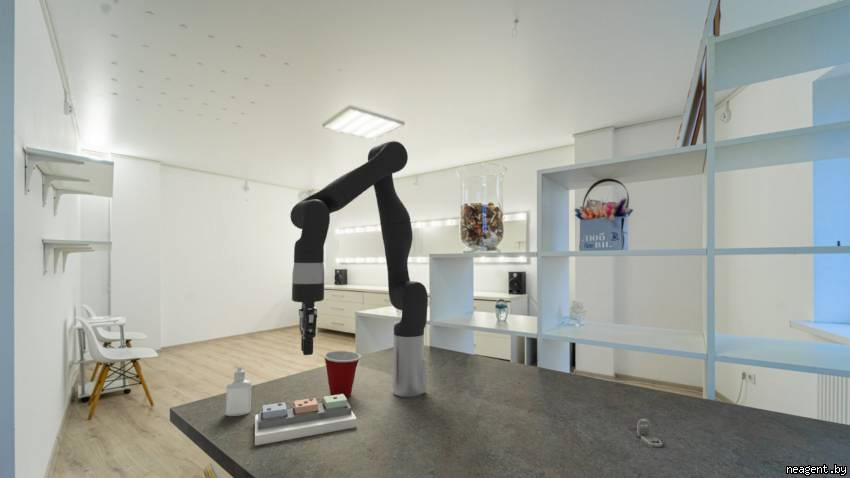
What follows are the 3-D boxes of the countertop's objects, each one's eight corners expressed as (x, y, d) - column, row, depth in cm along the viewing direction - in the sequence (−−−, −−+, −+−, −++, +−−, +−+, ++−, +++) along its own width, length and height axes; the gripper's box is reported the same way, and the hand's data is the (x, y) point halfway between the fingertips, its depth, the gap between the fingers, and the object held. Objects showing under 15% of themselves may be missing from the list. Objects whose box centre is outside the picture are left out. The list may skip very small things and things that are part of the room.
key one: (343, 399, 95) (343, 393, 95) (347, 406, 91) (347, 399, 91) (323, 402, 93) (323, 396, 93) (326, 409, 89) (326, 402, 89)
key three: (315, 404, 92) (315, 397, 93) (317, 410, 88) (317, 403, 89) (293, 407, 90) (294, 400, 91) (295, 414, 86) (295, 406, 87)
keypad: (345, 408, 99) (345, 395, 99) (356, 427, 88) (356, 411, 88) (255, 423, 90) (255, 408, 90) (254, 445, 79) (255, 428, 79)
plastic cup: (355, 403, 103) (356, 359, 104) (317, 402, 104) (318, 358, 104) (363, 389, 114) (364, 349, 115) (329, 389, 114) (329, 349, 115)
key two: (285, 408, 90) (285, 401, 90) (286, 415, 86) (286, 408, 86) (262, 411, 88) (262, 404, 88) (262, 419, 84) (262, 411, 84)
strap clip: (664, 448, 80) (664, 427, 80) (651, 448, 79) (650, 428, 80) (637, 430, 88) (637, 411, 88) (625, 430, 88) (625, 412, 88)
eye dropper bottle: (241, 418, 93) (243, 369, 94) (222, 415, 94) (224, 367, 95) (253, 411, 97) (254, 364, 98) (234, 409, 99) (236, 363, 99)
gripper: (329, 282, 86) (327, 358, 85) (319, 279, 99) (318, 345, 98) (295, 283, 83) (293, 361, 82) (290, 280, 96) (288, 347, 95)
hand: (306, 352), depth 90 cm, fingers open, 3 cm apart
